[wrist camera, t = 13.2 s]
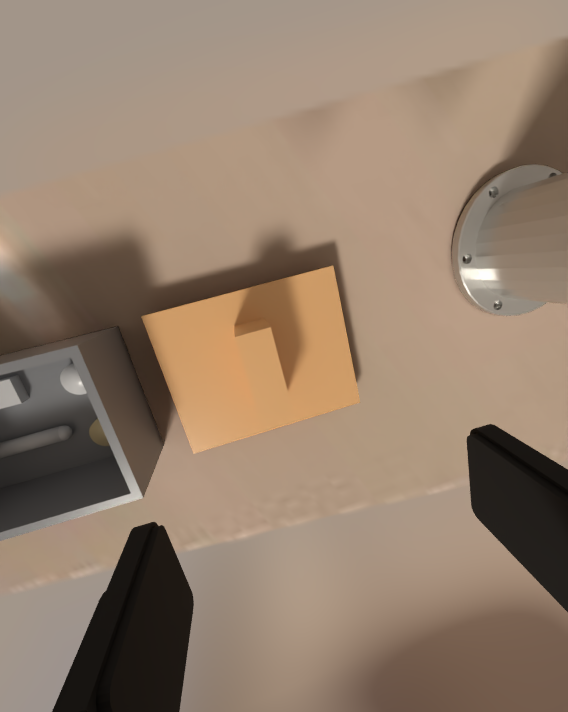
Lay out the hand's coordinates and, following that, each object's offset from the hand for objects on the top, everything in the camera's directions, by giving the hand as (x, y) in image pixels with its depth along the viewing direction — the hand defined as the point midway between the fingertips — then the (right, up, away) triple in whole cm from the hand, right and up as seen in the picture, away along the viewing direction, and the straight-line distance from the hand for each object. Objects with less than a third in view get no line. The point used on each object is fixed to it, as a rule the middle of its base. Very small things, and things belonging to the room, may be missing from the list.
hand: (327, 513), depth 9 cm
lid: (-3, +5, +18) cm, 19 cm away
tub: (-20, 0, +17) cm, 26 cm away
